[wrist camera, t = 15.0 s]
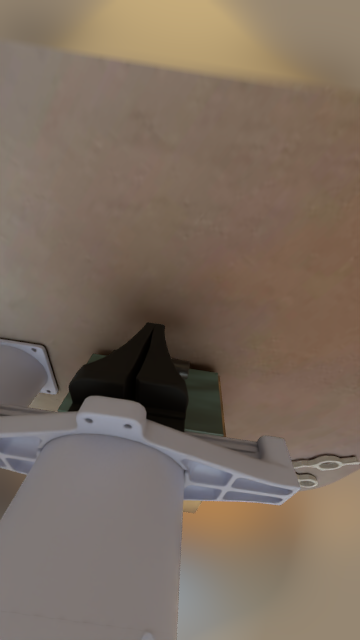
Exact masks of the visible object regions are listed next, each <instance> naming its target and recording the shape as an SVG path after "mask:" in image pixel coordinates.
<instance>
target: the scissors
mask: <svg viewBox="0 0 360 640" xmlns="http://www.w3.org/2000/svg"><path fill="white" fill-rule="evenodd" d="M327 462H333V463H330V464H322V463H327ZM359 463H360V462H359V460H358V459H357V457H352V458H343V459H340V458H339V457H336V456H322V457H318V458H316V459H314V460H309V461H298V462H294V463H293V466H294V469H295V468H301V467H314V468H318V469H319V470H333V469H338V468H340V467H341V466H343V465H350V464H359ZM296 475H297V478H298V481H299V484H300V486H301V487H315V486H317V485H318V482H317V479H316V477H314V476H312V475H308V474H306V475H298V474H296ZM302 481H310V482H302Z"/></svg>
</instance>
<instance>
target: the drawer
mask: <svg viewBox="0 0 360 640" xmlns="http://www.w3.org/2000/svg"><path fill="white" fill-rule="evenodd" d="M114 351H116V350H114ZM114 351H113V352H114ZM113 352H112V353H113ZM103 357H105V355H98V354H93V355H92V356H91V358H90V359H89V361H88V363H91V362H94V361H96V360H99V359H101V358H103ZM172 362H173V364H174V365H175V367H176V369H177V371H178V372H179V374H180V375H181V377H182V378H183V379H184V380H185V382H186V386H187V390H188V396H189V402H188V406H187V410H186V419H185V428H184V431H188V432H194V433H201V434H208V435H214V436H221V437H223V436H224V433H223V423H222V413H221V402H220V392H219V382H218V373H214V372H208V371H201V370H195V369H189V367H190V362H189V361H184V360H178V359H172ZM88 363H87V364H88ZM71 404H72V399H71V395H70V391H69V393H68V394H67V396H66V398H65V399H64V401H63V402H62V404H61V405H60V407H59V409H58V412H67V411H68V410H69V408H70V406H71Z"/></svg>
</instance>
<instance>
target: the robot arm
mask: <svg viewBox="0 0 360 640" xmlns="http://www.w3.org/2000/svg"><path fill="white" fill-rule="evenodd" d="M164 329H165V326H164V325H161V324H155V323H146V325H145V326H144V327H143V328H142V329H141V330H140V331H139V332H138V333H137V334H136V335H135V336H134V337H133V338H132V339H131V340H130V341H128V342H127V343H126V344H125V345H123V346H122V347H121V348H119V349H118V350H116V351H114V352H113V353H111V354H109V355H107V356H105V357H103V358H101V359H99V360H96V361H94V362H91V363H88V364H86V365H83V366H82V367H81V369H80V370H79V371H78V372H77V373H76V375H75V376H74V378H73V379H72V381H71V382H70V385H69V391H70V395H71V399H72V404H71V406H70V408H69V410H68V411H67V412H54V411H48V410H41V409H34V408H28V406H29V405H30V404H31V402H32V401H33V400H34V398H35V397H36V396H37V394H38V393H39V392H42V393H48V394H57V392H58V388H57V385H56V382H55V378H54V375H53V372H52V369H51V365H50V362H49V359H48V356H47V353H46V349H45V347H43V346H42V345H37V344H30V343H24V342H17V341H11V340H4V339H0V468H4V469H8V470H11V471H15V472H19V473H22V474H26V475H27V476H26V478H25V480H24V481H23V483H22V485H21V486H20V488H19V490H18V492H17V493H16V495H15V497H14V499H13V500H12V502H11V503H10V505H9V507H8V508H7V510H6V512H5V513H4V515H3V517H2V518H1V520H0V640H176V638H177V620H178V600H179V599H178V598H179V579H180V558H181V539H182V519H183V500H193V501H237V502H255V503H265V504H274V505H281V504H283V503H284V502H285V501H286V500H288V499H289V498H290V497H291V496H293V495H294V494H295V493H296V492H298V491H299V490H300V489H301V487H300V484H299V481H298V478H297V475H296V472H295V469H294V466H293V463H292V460H291V457H290V455H289V452H288V449H287V446H286V443H285V440H284V439H283V438H280V437H273V436H261V437H260V438H259V439H258V441H257V442H254V441H248V440H241V439H234V438H228V437H221V436H214V435H208V434H201V433H194V432H188V431H184V428H185V419H186V410H187V406H188V402H189V396H188V390H187V386H186V382H185V380H184V379H183V378H182V377H181V375H180V374H179V372H178V371H177V369H176V367H175V365H174V364H173V362H172V359H171V357H170V355H169V352H168V349H167V345H166V341H165V335H164Z"/></svg>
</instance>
